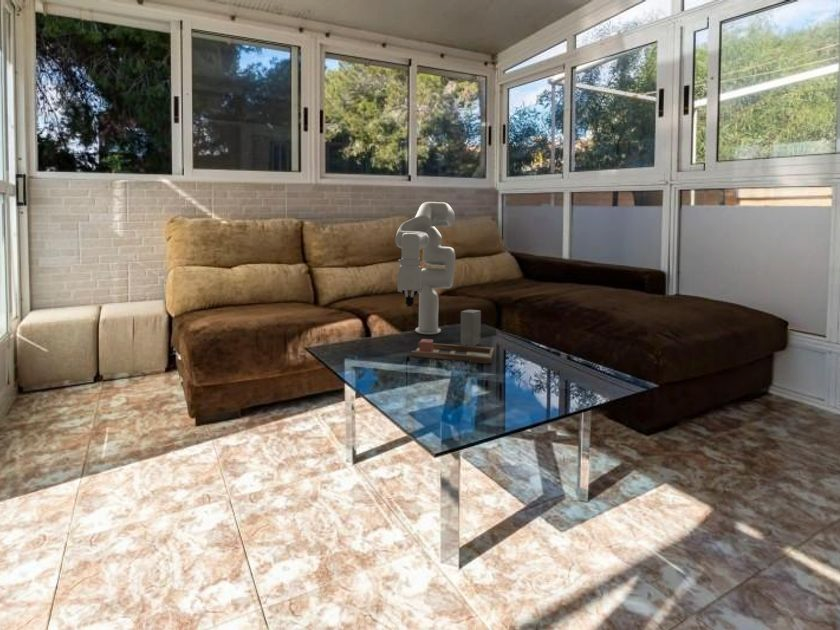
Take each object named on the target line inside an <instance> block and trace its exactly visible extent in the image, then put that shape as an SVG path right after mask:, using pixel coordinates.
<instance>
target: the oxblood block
mask: <svg viewBox="0 0 840 630" xmlns="http://www.w3.org/2000/svg"><path fill="white" fill-rule="evenodd" d="M419 342H420V351H425V352H433V343H434V339H430V338H429V339H428V338H422V339H420V341H419Z"/></svg>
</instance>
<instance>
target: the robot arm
mask: <svg viewBox="0 0 840 630" xmlns="http://www.w3.org/2000/svg"><path fill="white" fill-rule="evenodd" d="M455 221H456V215H455V211H454V210H453V208H452V207H451V206H450V204H448V203H447V202H444V201H439V202H437V201H426V202H423V203H422V204H420V206H419V208H418V210H417V212H416V214H415V217H413V218H411V219H410V218H409V220H407V221H404V222H403V223H401V225H400V226H399V227H398V229H397V231H396V235H395V239H394V242H395V245H396V247H398V248H399V249H401V257H400V259H399V258H398V260H397V262H398V263H399V264H400V265H399V266H398V273H397V282H396V283H397V285H396V287H397V292H399V293H402V294H403V296H404V297H405V304H406V307H413V305H414V302H415V298H414V297H415V296H416V295H418V326H417V327H416V328H415V329H414V330H415V333H417V334H420V335H438V334H440V333H441V332H442V329H441V328H440V327H439V299H440V298H439V294H438V292H437V291H436V289H451V288H452V287H453V284H454V281H455V280H454V279H455V268H456V251H455V249H454V248H453V247H451V246H442V242H443V241H442V239H443V237H442V235H441V233H440V231H439V230H438V229H437V227H438V228H440V227H441V228H451V227H452V226H454V224H455ZM421 250H422V262H423V263H424V265H427V266H432V267H424V268H422V266H421V265H420V263H421V262H420V259H421V258H420V257H421V256H420V255H421V254H420V253H421ZM439 267H444V268H439Z"/></svg>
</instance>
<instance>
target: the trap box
mask: <svg viewBox="0 0 840 630" xmlns="http://www.w3.org/2000/svg"><path fill="white" fill-rule="evenodd" d="M494 352H495V347H492V346H478V345H475V346H466V345H461V344H450V343H435V342H433V352H425V351H420V341H418V342H417V347H416V349H415V350H411V351H410V357H415V358H416V357H418V358H428V359H429V358H431V359H439V360H441V359H443V360H456V361H468V362H470V363H473V364H474V363H476V364H487V363H491V364H492V361H493V358H494V357H493V356H494V354H495V353H494ZM493 353H494V354H493ZM492 357H493V358H492Z"/></svg>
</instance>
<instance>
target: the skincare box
mask: <svg viewBox="0 0 840 630" xmlns="http://www.w3.org/2000/svg"><path fill="white" fill-rule="evenodd" d="M481 319H482V311H481V310H477V309H464V310H462V311H460V345H465V346H466V345H467V346H478V345H480V344H481V328H482V327H481V324H482V323H481V322H482V320H481ZM479 343H480V344H479ZM477 344H478V345H477Z"/></svg>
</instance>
